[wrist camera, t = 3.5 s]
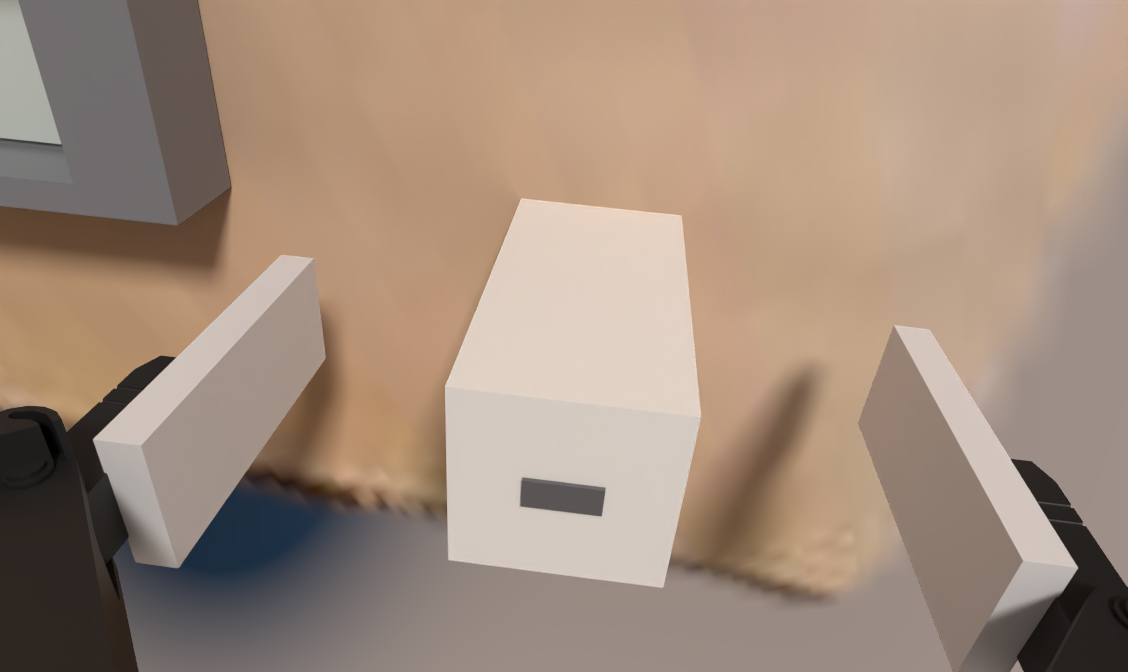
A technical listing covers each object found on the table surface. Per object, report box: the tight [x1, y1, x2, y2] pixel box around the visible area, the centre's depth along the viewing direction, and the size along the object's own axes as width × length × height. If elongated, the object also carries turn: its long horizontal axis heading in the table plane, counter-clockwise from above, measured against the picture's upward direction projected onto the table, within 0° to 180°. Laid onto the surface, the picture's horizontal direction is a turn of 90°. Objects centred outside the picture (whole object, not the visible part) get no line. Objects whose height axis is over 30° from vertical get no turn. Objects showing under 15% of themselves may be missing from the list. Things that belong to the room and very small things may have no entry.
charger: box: [445, 199, 701, 588], centre depth 16 cm, size 4×4×8 cm
